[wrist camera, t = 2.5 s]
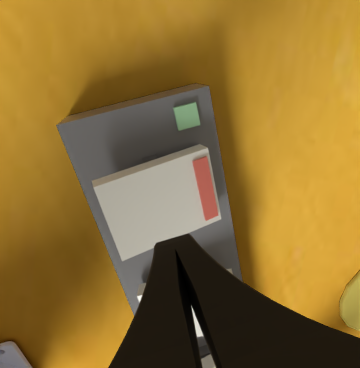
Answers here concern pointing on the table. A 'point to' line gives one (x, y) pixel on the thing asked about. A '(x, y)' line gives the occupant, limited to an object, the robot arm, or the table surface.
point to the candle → (351, 303)
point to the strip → (143, 152)
